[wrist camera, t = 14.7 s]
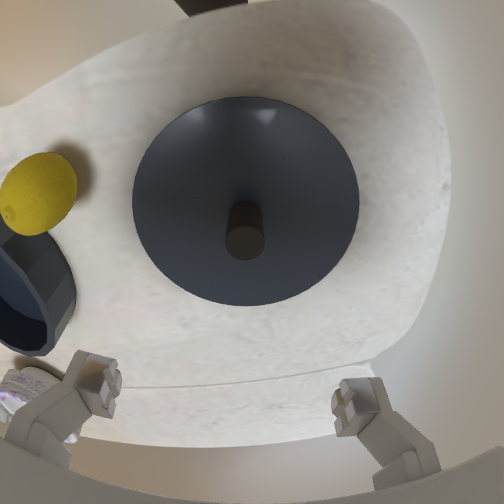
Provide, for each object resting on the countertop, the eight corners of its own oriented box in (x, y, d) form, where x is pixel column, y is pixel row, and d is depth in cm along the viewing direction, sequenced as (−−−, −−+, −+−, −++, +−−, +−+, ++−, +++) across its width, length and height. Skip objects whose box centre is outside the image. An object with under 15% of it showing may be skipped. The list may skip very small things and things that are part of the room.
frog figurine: (9, 401, 45) (0, 423, 39) (-7, 384, 41) (-18, 406, 35) (24, 406, 45) (15, 430, 39) (7, 389, 41) (-4, 413, 35)
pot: (-37, 203, 20) (-66, 225, 16) (59, 207, 21) (25, 237, 17) (-1, 310, 28) (-20, 337, 24) (90, 335, 30) (73, 370, 25)
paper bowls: (63, 411, 42) (52, 444, 35) (4, 362, 35) (-14, 395, 28) (106, 404, 38) (94, 446, 32) (33, 345, 31) (11, 387, 25)
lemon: (67, 216, 22) (15, 268, 15) (32, 169, 19) (-28, 208, 13) (106, 180, 21) (51, 227, 14) (68, 127, 18) (1, 155, 11)
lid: (139, 90, 17) (107, 93, 13) (376, 120, 18) (411, 133, 14) (143, 286, 26) (126, 326, 21) (324, 304, 27) (336, 345, 23)
